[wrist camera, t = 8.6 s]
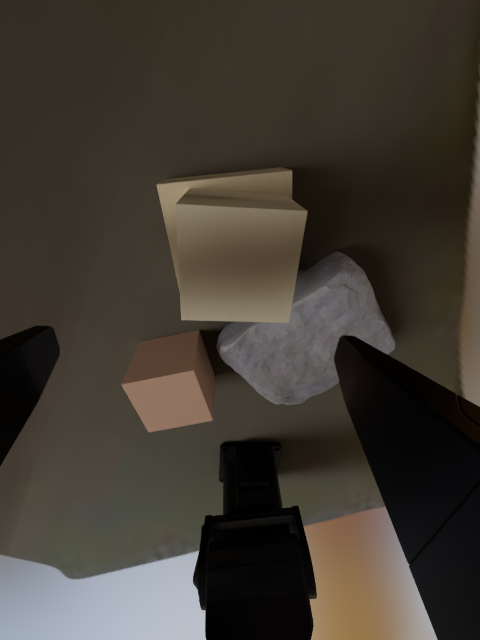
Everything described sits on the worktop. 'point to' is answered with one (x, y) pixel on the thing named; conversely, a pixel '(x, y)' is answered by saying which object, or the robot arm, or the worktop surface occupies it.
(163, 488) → the worktop surface
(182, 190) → the oak base block
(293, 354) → the stone block
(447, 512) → the robot arm
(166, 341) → the terracotta block
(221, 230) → the beech block
